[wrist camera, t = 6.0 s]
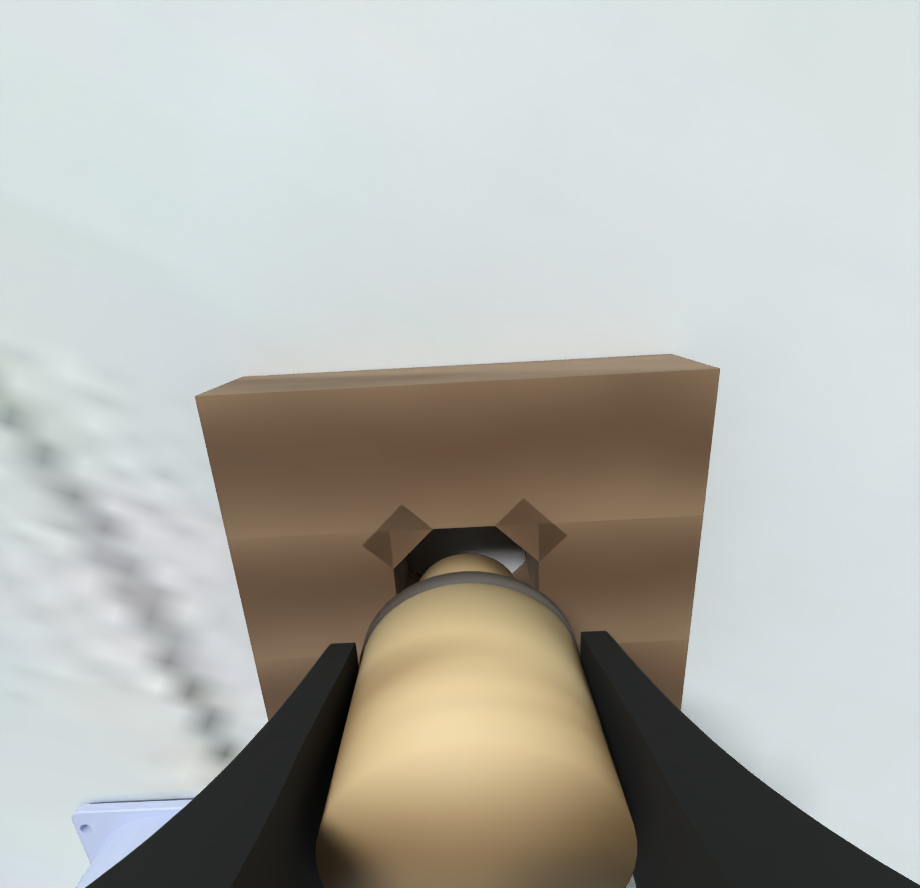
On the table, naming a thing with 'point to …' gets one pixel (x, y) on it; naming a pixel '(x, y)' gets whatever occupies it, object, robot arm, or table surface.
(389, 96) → the table surface
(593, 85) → the table surface
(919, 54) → the table surface
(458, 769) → the peg
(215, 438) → the board
